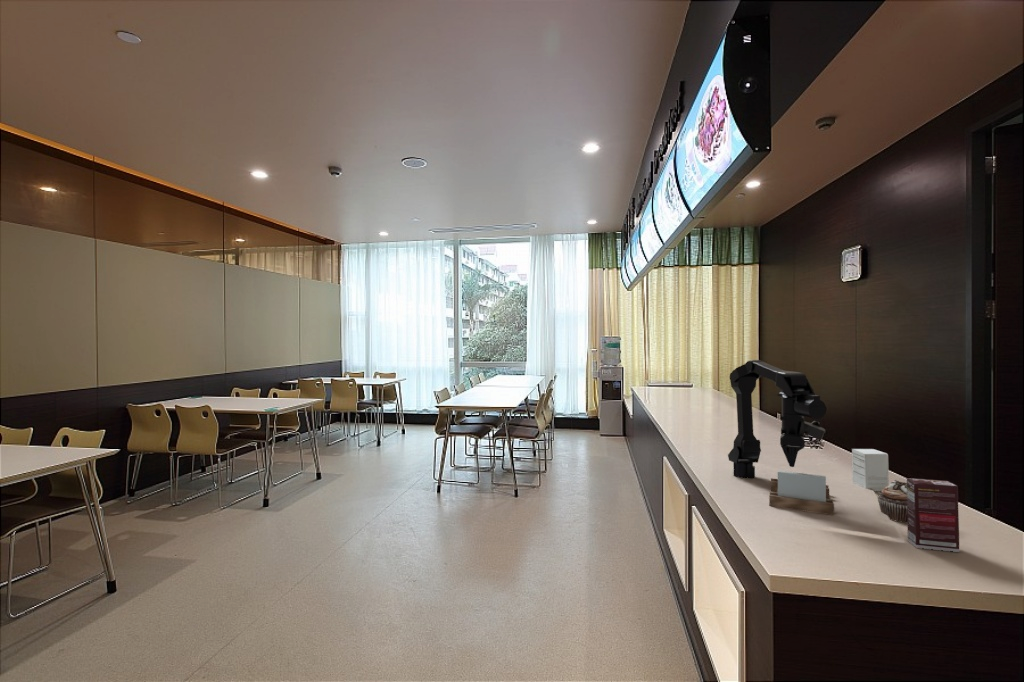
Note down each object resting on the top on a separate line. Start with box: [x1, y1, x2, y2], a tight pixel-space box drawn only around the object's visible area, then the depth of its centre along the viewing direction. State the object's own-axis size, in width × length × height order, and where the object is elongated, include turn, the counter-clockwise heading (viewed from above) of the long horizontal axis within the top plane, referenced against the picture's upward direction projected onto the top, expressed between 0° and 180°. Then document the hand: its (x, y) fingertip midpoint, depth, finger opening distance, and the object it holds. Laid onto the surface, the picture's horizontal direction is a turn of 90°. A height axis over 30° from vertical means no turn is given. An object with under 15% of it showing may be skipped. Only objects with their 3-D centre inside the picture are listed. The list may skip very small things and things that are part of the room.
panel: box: [777, 470, 827, 502], centre depth 139 cm, size 12×2×10 cm, turn 60°
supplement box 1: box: [851, 448, 890, 492], centre depth 159 cm, size 7×7×13 cm
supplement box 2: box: [906, 477, 960, 553], centre depth 115 cm, size 9×5×16 cm, turn 71°
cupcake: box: [877, 479, 907, 523], centre depth 134 cm, size 10×10×10 cm
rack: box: [768, 477, 835, 516], centre depth 146 cm, size 16×20×4 cm
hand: (791, 463), depth 147 cm, fingers open, 9 cm apart
